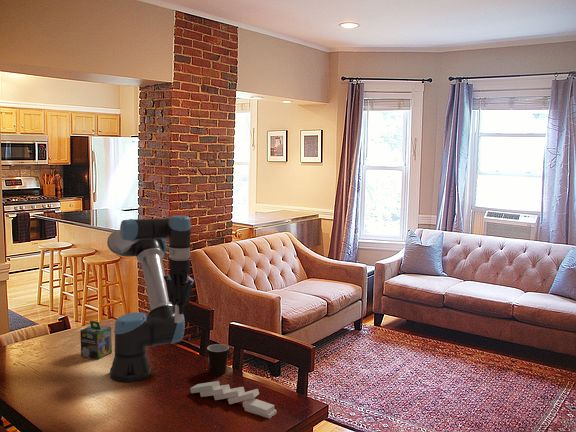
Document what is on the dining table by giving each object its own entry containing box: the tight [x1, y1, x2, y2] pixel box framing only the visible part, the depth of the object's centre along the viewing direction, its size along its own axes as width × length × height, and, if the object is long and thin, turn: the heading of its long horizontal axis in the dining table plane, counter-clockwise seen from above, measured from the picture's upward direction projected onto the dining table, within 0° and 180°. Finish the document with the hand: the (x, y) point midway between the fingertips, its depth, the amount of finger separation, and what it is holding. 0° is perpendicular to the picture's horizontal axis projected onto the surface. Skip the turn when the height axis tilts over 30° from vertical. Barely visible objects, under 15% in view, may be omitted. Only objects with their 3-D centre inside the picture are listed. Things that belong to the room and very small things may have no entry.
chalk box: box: [80, 320, 113, 361], centre depth 224 cm, size 9×9×15 cm
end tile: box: [189, 380, 221, 394], centre depth 190 cm, size 2×4×10 cm
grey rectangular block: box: [244, 408, 278, 419], centre depth 179 cm, size 2×4×10 cm
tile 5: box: [242, 397, 275, 415], centre depth 179 cm, size 2×4×10 cm
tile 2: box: [199, 383, 231, 398], centre depth 188 cm, size 2×4×10 cm
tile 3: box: [213, 386, 246, 401], centre depth 186 cm, size 2×4×10 cm
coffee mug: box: [206, 343, 230, 376], centre depth 212 cm, size 12×9×10 cm
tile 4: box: [227, 388, 260, 405], centre depth 183 cm, size 2×4×10 cm
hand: (178, 322), depth 194 cm, fingers closed
